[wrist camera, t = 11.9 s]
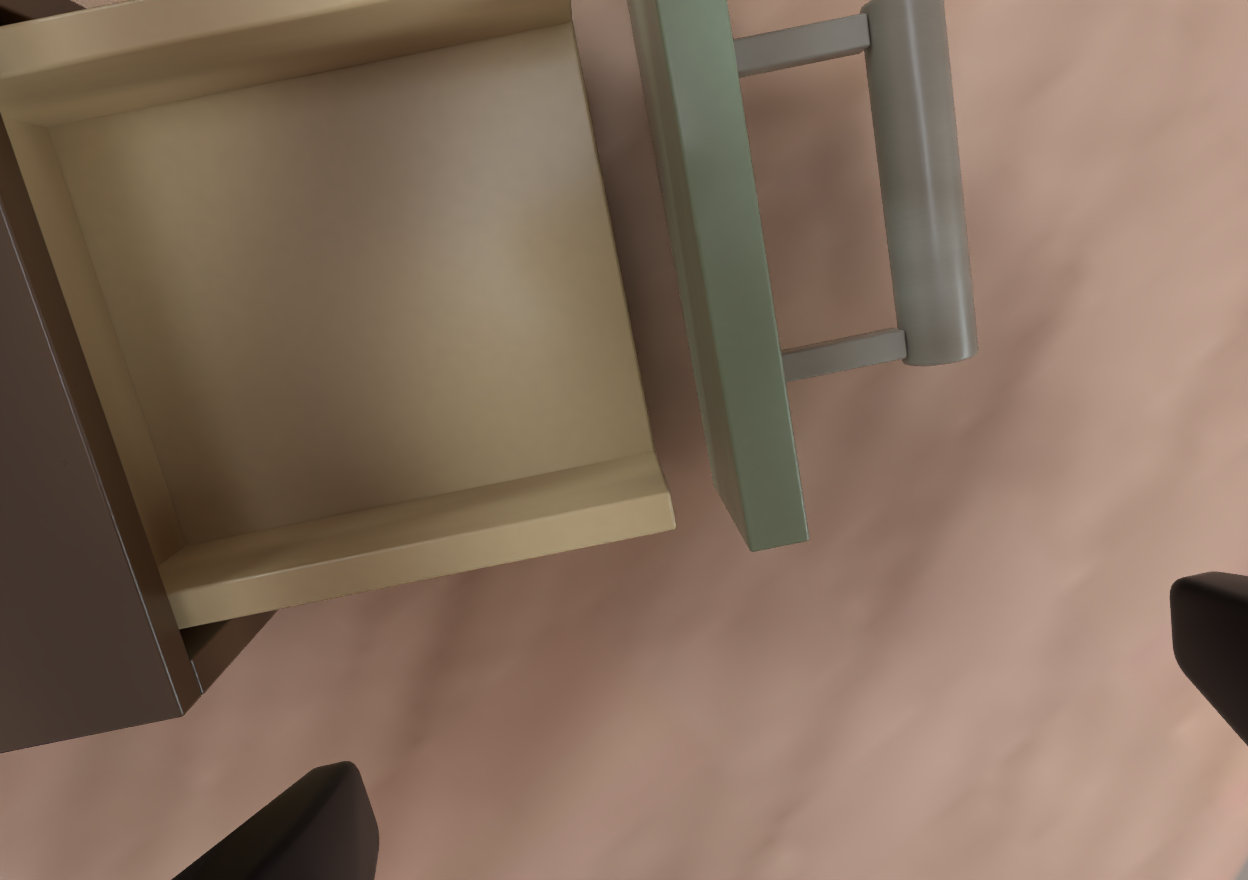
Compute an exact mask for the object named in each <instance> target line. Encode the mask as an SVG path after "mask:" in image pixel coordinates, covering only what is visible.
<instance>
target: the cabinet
mask: <svg viewBox="0 0 1248 880" xmlns="http://www.w3.org/2000/svg"><path fill="white" fill-rule="evenodd" d="M83 9H87V8H85V7H83V6H81V5H79V4H77V3H75V2H73V1H71V0H0V26H4V25H9V24H14V23H19V22H24V21H29V20H34V19H39V18H44V17H49V16H54V15H59V14H64V13H69V12H73V11H78V10H83ZM277 611H278V609H277V610H273V611H268V612H263V613H258V614H253V615H248V616H243V617H238V618H233V619H228V620H223V621H218V622H213V623H208V624H203V625H198V626H193V627H188V628H183V629H179V628H178V625H177V622H176V619H175V616H174V613H173V610H172V607H171V605H170V602H169V599H168V596H167V593H166V590H165V587H164V584H163V581H162V579H161V576H160V573H159V570H158V567H157V564H156V561H155V558H154V555H153V552H152V550H151V547H150V544H149V541H148V538H147V535H146V532H145V529H144V526H143V523H142V521H141V518H140V515H139V512H138V509H137V506H136V503H135V500H134V497H133V494H132V492H131V489H130V486H129V483H128V480H127V477H126V474H125V471H124V468H123V466H122V463H121V460H120V457H119V454H118V451H117V448H116V445H115V442H114V439H113V437H112V434H111V431H110V428H109V425H108V422H107V419H106V416H105V413H104V410H103V408H102V405H101V402H100V399H99V396H98V393H97V390H96V387H95V384H94V382H93V379H92V376H91V373H90V370H89V367H88V364H87V361H86V358H85V355H84V353H83V350H82V347H81V344H80V341H79V338H78V335H77V332H76V329H75V326H74V324H73V321H72V318H71V315H70V312H69V309H68V306H67V303H66V300H65V298H64V295H63V292H62V289H61V286H60V283H59V280H58V277H57V274H56V271H55V269H54V266H53V263H52V260H51V257H50V254H49V251H48V248H47V245H46V242H45V240H44V237H43V234H42V231H41V228H40V225H39V222H38V219H37V216H36V214H35V211H34V208H33V205H32V202H31V199H30V196H29V193H28V190H27V187H26V185H25V182H24V179H23V176H22V173H21V170H20V167H19V164H18V161H17V158H16V156H15V153H14V150H13V147H12V144H11V141H10V138H9V135H8V132H7V129H6V127H5V124H4V121H3V118H2V115H1V112H0V753H4V752H9V751H14V750H19V749H24V748H29V747H34V746H39V745H44V744H49V743H53V742H58V741H63V740H68V739H73V738H78V737H83V736H88V735H93V734H98V733H103V732H108V731H113V730H118V729H123V728H128V727H133V726H138V725H143V724H148V723H153V722H158V721H163V720H168V719H173V718H178V717H182V716H183V715H185V714H186V712H187V711H188V710H189V709H190V708H191V707H192V706H193V705H194V703H195V702H196V701H197V700H198V699H199V698H200V697H201V695H202V694H204V693H205V692H206V691H207V689H208V688H209V687H210V686H211V685H212V684H213V683H214V682H215V680H216V679H217V678H218V677H219V676H220V675H221V674H222V673H223V671H224V670H225V669H226V668H227V667H228V666H229V665H230V664H231V662H232V661H233V660H234V659H235V658H236V657H237V656H238V655H239V653H240V652H241V651H242V650H243V649H244V648H245V647H246V646H247V644H248V643H249V642H250V641H251V640H252V639H253V638H254V637H255V635H256V634H257V633H258V632H259V631H260V630H261V629H262V628H263V626H264V625H265V624H266V623H267V622H268V621H269V620H270V618H271V617H272V616H273V615H274V614H275V613H276V612H277Z"/></svg>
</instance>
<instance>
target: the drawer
mask: <svg viewBox="0 0 1248 880" xmlns="http://www.w3.org/2000/svg"><path fill="white" fill-rule="evenodd" d="M627 4H628V9H629V15H630V20H631V26H632V31H633V37H634V43H635V48H636V54H637V59H638V65H639V71H640V76H641V82H642V87H643V93H644V99H645V104H646V110H647V115H648V121H649V127H650V132H651V138H652V143H653V149H654V155H655V160H656V166H657V171H658V177H659V183H660V188H661V194H662V199H663V205H664V210H665V216H666V222H667V227H668V233H669V238H670V244H671V250H672V255H673V261H674V266H675V272H676V278H677V283H678V289H679V294H680V300H681V306H682V311H683V317H684V322H685V328H686V334H687V339H688V345H689V350H690V356H691V362H692V367H693V373H694V378H695V384H696V389H697V395H698V401H699V406H700V412H701V417H702V423H703V429H704V434H705V440H706V445H707V451H708V457H709V462H710V468H711V473H712V479H713V485H714V487H715V488H716V490H717V492H718V494H719V496H720V497H721V499H722V501H723V503H724V505H725V506H726V508H727V510H728V512H729V514H730V515H731V517H732V519H733V521H734V523H735V524H736V526H737V528H738V530H739V532H740V533H741V535H742V537H743V539H744V541H745V542H746V544H747V546H748V548H749V549H750V551H752V552H755V551H760V550H765V549H770V548H775V547H780V546H785V545H790V544H795V543H800V542H805V541H808V540H809V531H808V525H807V518H806V512H805V505H804V499H803V492H802V486H801V479H800V473H799V466H798V460H797V453H796V447H795V440H794V434H793V427H792V421H791V414H790V408H789V401H788V395H787V388H786V382H791V381H796V380H801V379H806V378H811V377H816V376H821V375H826V374H831V373H836V372H841V371H846V370H850V369H855V368H860V367H865V366H870V365H875V364H880V363H885V362H890V361H895V360H900V359H902V361H903V363H904V364H906V365H911V366H935V365H943V364H950V363H955V362H959V361H963V360H966V359H969V358H971V357H973V356H975V355H976V354H977V353H978V339H977V329H976V319H975V309H974V299H973V289H972V279H971V269H970V259H969V249H968V239H967V229H966V219H965V209H964V199H963V189H962V179H961V168H960V158H959V148H958V138H957V128H956V118H955V108H954V98H953V88H952V78H951V68H950V58H949V48H948V38H947V28H946V18H945V8H944V0H871V1H870V2H868V3H867V4H865V5H864V6H863V7H862V8H861V10H860V14H857V15H852V16H847V17H842V18H837V19H832V20H828V21H823V22H818V23H813V24H808V25H803V26H798V27H793V28H788V29H783V30H778V31H773V32H768V33H763V34H758V35H753V36H748V37H743V38H738V39H733V37H732V30H731V24H730V17H729V11H728V4H727V0H627ZM862 51H864V53H865V62H866V70H867V78H868V87H869V95H870V103H871V111H872V120H873V128H874V136H875V144H876V153H877V161H878V169H879V177H880V186H881V194H882V202H883V211H884V219H885V227H886V235H887V244H888V252H889V260H890V268H891V277H892V285H893V293H894V302H895V310H896V318H897V326H898V329H896V328H889V329H885V330H880V331H875V332H870V333H865V334H860V335H855V336H850V337H845V338H840V339H835V340H830V341H825V342H820V343H815V344H810V345H805V346H800V347H795V348H790V349H785V350H781V349H780V343H779V336H778V330H777V323H776V317H775V310H774V304H773V297H772V290H771V284H770V277H769V271H768V264H767V258H766V251H765V245H764V238H763V232H762V225H761V219H760V212H759V206H758V199H757V193H756V186H755V180H754V173H753V167H752V160H751V154H750V147H749V141H748V134H747V128H746V121H745V115H744V108H743V102H742V95H741V89H740V82H739V78H741V77H746V76H751V75H756V74H761V73H766V72H771V71H776V70H781V69H786V68H791V67H796V66H800V65H805V64H810V63H815V62H820V61H825V60H830V59H835V58H840V57H845V56H850V55H855V54H860V53H861V52H862ZM0 112H1V115H2V118H3V121H4V124H5V127H6V129H7V132H8V135H9V138H10V141H11V144H12V147H13V150H14V153H15V156H16V158H17V161H18V164H19V167H20V170H21V173H22V176H23V179H24V182H25V185H26V187H27V190H28V193H29V196H30V199H31V202H32V205H33V208H34V211H35V214H36V216H37V219H38V222H39V225H40V228H41V231H42V234H43V237H44V240H45V242H46V245H47V248H48V251H49V254H50V257H51V260H52V263H53V266H54V269H55V271H56V274H57V277H58V280H59V283H60V286H61V289H62V292H63V295H64V298H65V300H66V303H67V306H68V309H69V312H70V315H71V318H72V321H73V324H74V326H75V329H76V332H77V335H78V338H79V341H80V344H81V347H82V350H83V353H84V355H85V358H86V361H87V364H88V367H89V370H90V373H91V376H92V379H93V382H94V384H95V387H96V390H97V393H98V396H99V399H100V402H101V405H102V408H103V410H104V413H105V416H106V419H107V422H108V425H109V428H110V431H111V434H112V437H113V439H114V442H115V445H116V448H117V451H118V454H119V457H120V460H121V463H122V466H123V468H124V471H125V474H126V477H127V480H128V483H129V486H130V489H131V492H132V494H133V497H134V500H135V503H136V506H137V509H138V512H139V515H140V518H141V521H142V523H143V526H144V529H145V532H146V535H147V538H148V541H149V544H150V547H151V550H152V552H153V555H154V558H155V561H156V564H157V567H158V570H159V573H160V576H161V579H162V581H163V584H164V587H165V590H166V593H167V596H168V599H169V602H170V605H171V607H172V610H173V613H174V616H175V619H176V622H177V625H178V628H179V629H183V628H188V627H193V626H198V625H203V624H208V623H213V622H218V621H223V620H228V619H233V618H238V617H243V616H248V615H253V614H258V613H263V612H268V611H273V610H277V609H282V608H287V607H292V606H297V605H302V604H307V603H312V602H317V601H322V600H327V599H332V598H337V597H342V596H347V595H352V594H357V593H362V592H367V591H372V590H377V589H382V588H387V587H392V586H397V585H402V584H407V583H412V582H417V581H422V580H426V579H431V578H436V577H441V576H446V575H451V574H456V573H461V572H466V571H471V570H476V569H481V568H486V567H491V566H496V565H501V564H506V563H511V562H516V561H521V560H526V559H531V558H536V557H541V556H546V555H551V554H556V553H561V552H566V551H570V550H575V549H580V548H585V547H590V546H595V545H600V544H605V543H610V542H615V541H620V540H625V539H630V538H635V537H640V536H645V535H650V534H655V533H660V532H665V531H670V530H674V529H675V528H676V521H675V515H674V510H673V505H672V500H671V495H670V492H669V489H668V486H667V483H666V480H665V477H664V474H663V472H662V469H661V466H660V463H659V460H658V457H657V454H656V451H655V445H654V440H653V435H652V430H651V425H650V420H649V414H648V409H647V404H646V399H645V394H644V389H643V383H642V378H641V373H640V368H639V363H638V358H637V352H636V347H635V342H634V337H633V332H632V327H631V321H630V316H629V311H628V306H627V301H626V296H625V290H624V285H623V280H622V275H621V270H620V264H619V259H618V254H617V249H616V244H615V239H614V233H613V228H612V223H611V218H610V213H609V208H608V202H607V197H606V192H605V187H604V182H603V177H602V171H601V166H600V161H599V156H598V151H597V146H596V140H595V135H594V130H593V125H592V120H591V115H590V109H589V104H588V99H587V94H586V89H585V84H584V78H583V73H582V68H581V63H580V58H579V53H578V47H577V42H576V37H575V32H574V27H573V22H572V11H571V0H128V1H123V2H118V3H113V4H108V5H103V6H98V7H93V8H88V9H83V10H78V11H73V12H69V13H64V14H59V15H54V16H49V17H44V18H39V19H34V20H29V21H24V22H19V23H14V24H9V25H4V26H0Z"/></svg>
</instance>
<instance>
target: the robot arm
mask: <svg viewBox="0 0 1248 880" xmlns="http://www.w3.org/2000/svg"><path fill="white" fill-rule="evenodd" d="M1170 608H1171V624H1172V640H1173V650H1174V654H1175V658H1176V660H1177V662H1178V665H1179V666H1180V668H1181V669H1182V671H1183V672H1184V674H1185V675H1186V676H1187V677H1188V678H1189V680H1190V681H1191V682H1192V683H1193V684H1194V685H1195V686H1196V688H1197V689H1198V690H1199V691H1200V692H1201V693H1202V694H1203V696H1204V697H1205V698H1206V699H1207V700H1208V701H1209V702H1210V703H1211V705H1212V706H1213V707H1214V708H1215V709H1216V710H1217V711H1218V713H1219V714H1220V715H1221V716H1222V717H1223V718H1224V719H1225V721H1226V722H1227V723H1228V724H1229V725H1230V726H1231V727H1232V729H1233V730H1234V731H1235V732H1236V733H1237V734H1238V735H1239V736H1240V738H1241V739H1242V740H1243V741H1244V742H1245V743H1246V744H1247V746H1248V576H1243V575H1237V574H1230V573H1223V572H1206V573H1202V574H1197V575H1193V576H1188V577H1183V578H1180V579H1178V580H1176V581H1175V582H1174V583H1173V585H1172V586H1171V590H1170ZM378 851H379V831H378V826H377V822H376V819H375V816H374V813H373V810H372V807H371V804H370V801H369V798H368V795H367V792H366V789H365V786H364V783H363V781H362V778H361V775H360V772H359V770H358V769H357V767H356V766H355V764H353V763H352V762H350V761H343V762H339V763H334V764H329V765H325V766H320V767H317V768H314V769H313V770H311V771H310V772H308V773H307V774H306V775H305V776H303V777H302V778H301V779H299V780H298V781H297V782H296V783H294V784H293V785H292V786H291V787H289V788H288V789H287V790H285V791H284V792H283V793H282V794H280V795H279V796H278V797H277V798H275V799H274V800H273V801H271V802H270V803H269V804H268V805H266V806H265V807H264V808H262V809H261V810H260V811H259V812H257V813H256V814H255V815H254V816H252V817H251V818H250V819H248V820H247V821H246V822H245V823H243V824H242V825H241V826H239V827H238V828H237V829H236V830H234V831H233V832H232V833H231V834H229V835H228V836H227V837H225V838H224V839H223V840H222V841H220V842H219V843H218V844H216V845H215V846H214V847H213V848H211V849H210V850H209V851H208V852H206V853H205V854H204V855H202V856H201V857H200V858H199V859H197V860H196V861H195V862H193V863H192V864H191V865H190V866H188V867H187V868H186V869H185V870H183V871H182V872H181V873H179V874H178V875H177V876H176V877H174V878H173V879H172V880H374V878H375V871H376V864H377V858H378Z"/></svg>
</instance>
